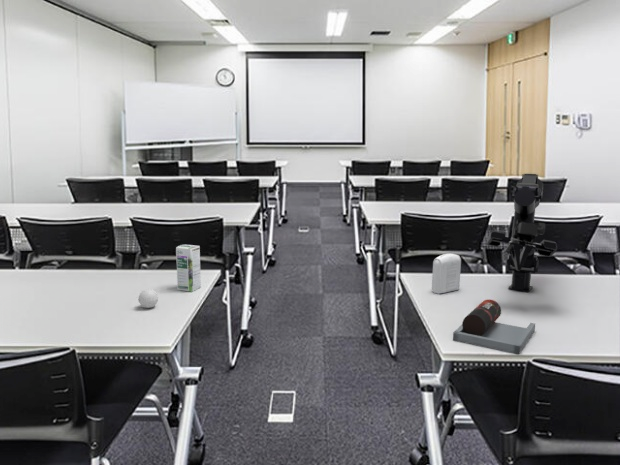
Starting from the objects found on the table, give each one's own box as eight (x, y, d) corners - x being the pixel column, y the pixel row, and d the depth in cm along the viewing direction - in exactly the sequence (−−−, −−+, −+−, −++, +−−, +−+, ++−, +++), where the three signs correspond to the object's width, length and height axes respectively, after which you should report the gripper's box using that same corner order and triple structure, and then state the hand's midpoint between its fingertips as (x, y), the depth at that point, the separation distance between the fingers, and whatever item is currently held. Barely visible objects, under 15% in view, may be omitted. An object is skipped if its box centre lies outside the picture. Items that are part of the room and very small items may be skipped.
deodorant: (480, 319, 154) (463, 336, 142) (478, 298, 153) (461, 313, 141) (501, 321, 151) (486, 338, 138) (500, 299, 150) (484, 315, 138)
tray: (474, 319, 154) (474, 312, 154) (534, 330, 145) (535, 323, 145) (452, 339, 139) (453, 332, 139) (518, 354, 131) (519, 346, 130)
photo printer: (451, 286, 185) (453, 250, 183) (461, 289, 182) (463, 253, 179) (429, 291, 180) (431, 254, 177) (439, 295, 176) (441, 257, 174)
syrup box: (176, 290, 181) (174, 247, 178) (187, 285, 186) (185, 243, 183) (191, 292, 179) (189, 248, 176) (201, 287, 184) (200, 244, 181)
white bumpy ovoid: (162, 305, 165) (161, 287, 164) (151, 311, 160) (150, 293, 159) (141, 303, 168) (139, 285, 167) (129, 308, 163) (128, 290, 162)
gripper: (498, 204, 159) (492, 254, 153) (565, 216, 156) (562, 267, 150) (489, 220, 169) (483, 267, 163) (552, 232, 166) (548, 280, 160)
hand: (518, 270), depth 159 cm, fingers closed
